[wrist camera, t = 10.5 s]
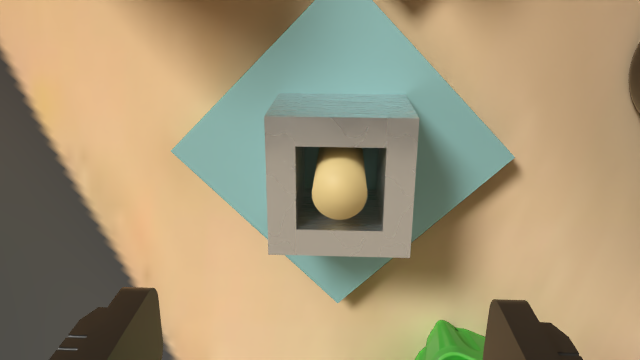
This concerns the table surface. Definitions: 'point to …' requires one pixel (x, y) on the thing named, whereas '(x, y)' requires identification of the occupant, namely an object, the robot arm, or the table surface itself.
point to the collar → (340, 131)
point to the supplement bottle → (635, 78)
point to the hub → (343, 162)
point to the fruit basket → (452, 344)
